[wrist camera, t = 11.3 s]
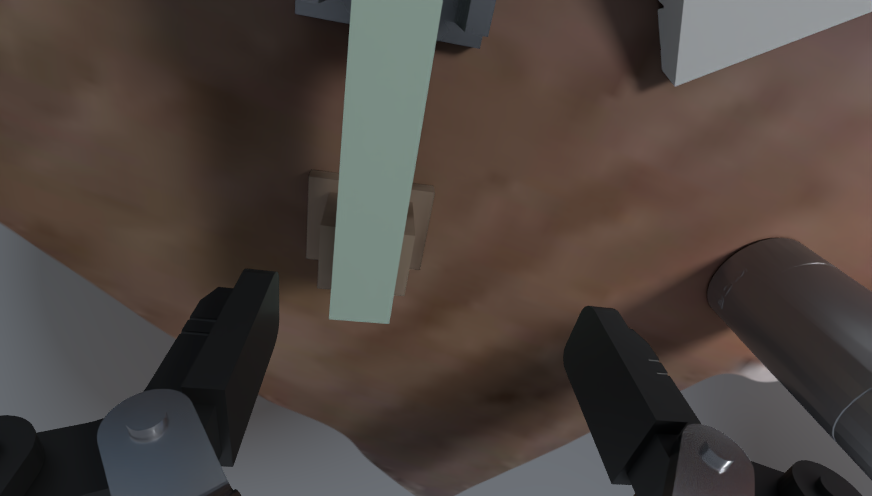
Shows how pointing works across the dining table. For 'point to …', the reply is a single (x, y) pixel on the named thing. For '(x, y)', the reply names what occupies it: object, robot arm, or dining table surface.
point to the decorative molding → (739, 30)
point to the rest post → (324, 225)
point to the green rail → (379, 149)
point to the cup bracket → (459, 21)
